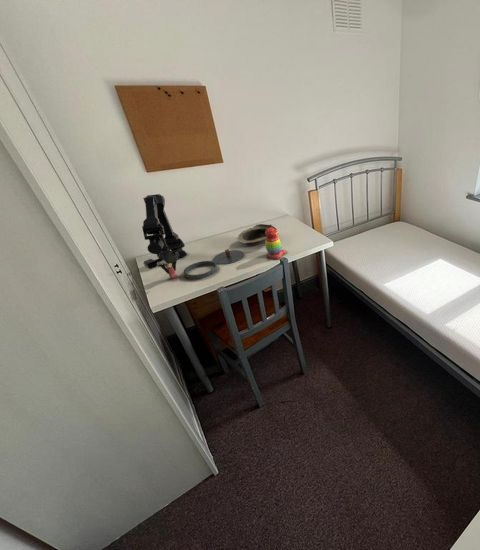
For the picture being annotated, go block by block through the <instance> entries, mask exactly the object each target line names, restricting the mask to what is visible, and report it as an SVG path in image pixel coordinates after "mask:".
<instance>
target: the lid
mask: <svg viewBox="0 0 480 550" xmlns="http://www.w3.org/2000/svg"><path fill="white" fill-rule="evenodd" d="M244 257H245V253H244V252H243V251H242V250H236V249H232V250H230V249H229V248H227V249H224V251H223V252H220V253H218V254H216V255H215V256H214V257H213V259H212V261H213V262H216V264H217V265H229V264H235V263H236V262H240V261H241V260H242V259H243V258H244Z"/></svg>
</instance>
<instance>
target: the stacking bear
mask: <svg viewBox="0 0 480 550" xmlns="http://www.w3.org/2000/svg"><path fill="white" fill-rule="evenodd" d="M276 229H277V228H276ZM276 229H274V228H272V227H270V228H268V229H267V230H266V231H265V234H266V236H267V238H266V241H265V244H264V245H265V249H266V251H267V257H268V258H270V259H273V260H280V259H282V256H284V255H285V254H286V253H287V251H286V249H282V242H281V240H280V238H279V231H278V230H276Z"/></svg>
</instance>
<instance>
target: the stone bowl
mask: <svg viewBox="0 0 480 550" xmlns="http://www.w3.org/2000/svg"><path fill="white" fill-rule="evenodd" d="M270 227H272V228H274V229H276V230H277V228H276V227H275V226H274V225H272V224H264V223H259V224H255V225H254V226H253V227H249V228H246V229H245V230H242V231H241V232H240V233H239V234H238V235H237V241H238V242H240V243H243V244H246V245H247V246H249V247H254V246H259V245H263V244H264V243H265V241H266V238H267V236H266V234H265V231H266V230H267V229H268V228H270ZM277 231H278V230H277Z"/></svg>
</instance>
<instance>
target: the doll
mask: <svg viewBox="0 0 480 550" xmlns="http://www.w3.org/2000/svg"><path fill="white" fill-rule="evenodd" d="M164 264H165V267H166V269H167V270H168V273H169V274H168V277H169V280H170V281H171V280H172V281H173V280H177V279H178V278H179V276H178V275H177V273H176V271H175V270H174V268H173V266H172V264H171V263H170V264H167V263H166V262H165V263H164Z"/></svg>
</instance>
